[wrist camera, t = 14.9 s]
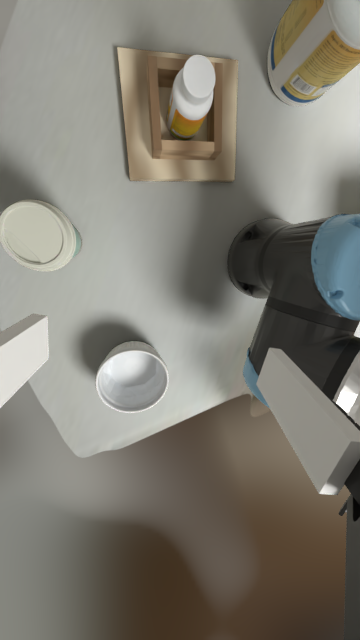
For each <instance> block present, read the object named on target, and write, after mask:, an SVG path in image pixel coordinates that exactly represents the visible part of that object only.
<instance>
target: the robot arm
mask: <svg viewBox="0 0 360 640" xmlns="http://www.w3.org/2000/svg"><path fill="white" fill-rule="evenodd" d="M228 271H229V275H230V278H231V280H232V282H233V283H234V285H235V286H236V287H237V288H238V289H239V290H240V291H241V292H243V293H244V294H247V295H249V296H252V297H255V298H263V299H264V298H268V299H267V302H266V304H265V307H264V310H263V312H262V315H261V318H260V321H259V323H258V326H257V329H256V332H255V334H254V337H253V340H252V343H251V345H250V347H249V348H248V351H247V358H246V362H245V365H244V369H243V375H244V378H245V382H246V384H247V386H248V387H249V389H250V390H251V392H252V393H253V394H254V395H255V396H256V397H257V398H258V399H259V400H260V401H261V402H262V403H264V404H265V405H266V406H267V407H269V408H270V409H271V411H272V413H273V414H274V416H275V418H276V420H277V421H278V423H279V425H280V427H281V428H282V430H283V432H284V433H285V435H286V437H287V439H288V440H289V442H290V444H291V446H292V447H293V449H294V451H295V452H296V454H297V456H298V458H299V460H300V461H301V463H302V465H303V467H304V468H305V470H306V472H307V474H308V475H309V477H310V479H311V481H312V482H313V484H314V486H315V488H316V489H317V491H318V493H319V494H329V495H338V493H339V492H340V490H341V489H342V487H343V486H344V484H345V485H346V487H347V488H348V489H349V491H350V492H351V495H350V496H349V497H348V499H347V500H346V502H345V503H344V505H343V506H342V508H341V509H340V511H339V515H341V516H342V515H343V514H344V513H345V512H347V532H346V533H347V534H346V535H347V536H346V576H345V577H346V578H345V621H344V622H345V623H344V640H360V338H358V337H355V336H354V333H355V331H356V328H357V326H358V324H359V322H360V214H353V215H351V214H341V215H335V216H333V217H330V218H325V219H319V220H314V221H309V222H303V223H298V224H291V223H289V222H286V221H283V220H280V219H272V218H271V219H264V220H260V221H256V222H253V223H251V224H249V225H248V226H246V227H245V228H244V229H243V230H242V231H241V232H240V233H239V234H238V235H237V236H236V238H235V239H234V241H233V243H232V245H231V248H230V251H229V255H228ZM48 359H49V345H48V319H47V316H45V315H38V314H32V315H30V316H28V317H26V318H25V319H23V320H21V321H19V322H18V323H16V324H14V325H13V326H11V327H9V328H7V329H6V330H4V331H2V332H0V408H1V407H2V406H3V405H4V404H5V403H6V402H7V401H8V400H9V398H11V396H13V395H14V394H15V392H16V391H17V390H18V389H19V388H20V387H21V386H22V385H23V384H24V383H25V382H26V381H27V380H28V379H29V378H30V377H31V376H32V375H33V374H34V373H35V372H36V371H37V370H38V369H39V368H40V367H41V366H42V365H43V364H44V363H45V362H46V361H47V360H48Z"/></svg>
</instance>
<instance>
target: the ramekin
mask: <svg viewBox="0 0 360 640" xmlns="http://www.w3.org/2000/svg"><path fill="white" fill-rule="evenodd" d="M168 383H169V375H168V370H167V367H166V364H165V363H164V361H163V360H162V358H161V357H160V355H159V354H158V352H157V351H156V350H155V349H154V348H153V347H151V346H150V345H148V344H146V343H143V342H137V341H130V342H125V343H122V344H120V345H118V346H116V347H115V348H113V350H111V351H110V353H109V354H108V355H107V357H106V358H105V360H104V361H103V362H102V363H101V365H100V367H99V369H98V371H97V374H96V380H95V386H96V390H97V393H98V396H99V397H100V399H101V400H102V401H103V403H105V404H106V405H107V406H108V407H110V408H111V409H113V410H116V411H119V412H123V413H137V412H141V411H144V410H147V409H149V408H151V407H152V406H154V405H155V404H157V403H158V402H159V401H160V400H161V399H162V397H163V396H164V394H165V393H166V391H167V388H168Z"/></svg>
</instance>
